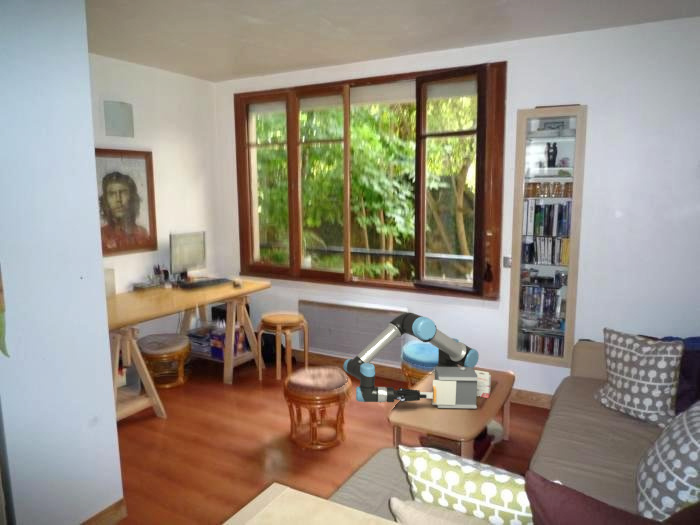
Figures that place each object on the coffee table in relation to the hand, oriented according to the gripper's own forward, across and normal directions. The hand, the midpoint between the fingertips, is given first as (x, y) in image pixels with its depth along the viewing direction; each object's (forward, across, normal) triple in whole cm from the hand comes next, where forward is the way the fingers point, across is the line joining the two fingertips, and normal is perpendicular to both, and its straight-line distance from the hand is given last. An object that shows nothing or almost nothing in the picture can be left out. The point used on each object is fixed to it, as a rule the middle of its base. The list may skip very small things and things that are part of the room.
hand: (432, 395), depth 257 cm
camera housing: (+13, -11, -9) cm, 19 cm away
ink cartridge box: (+30, -22, -9) cm, 38 cm away
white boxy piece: (+6, -1, -6) cm, 9 cm away
